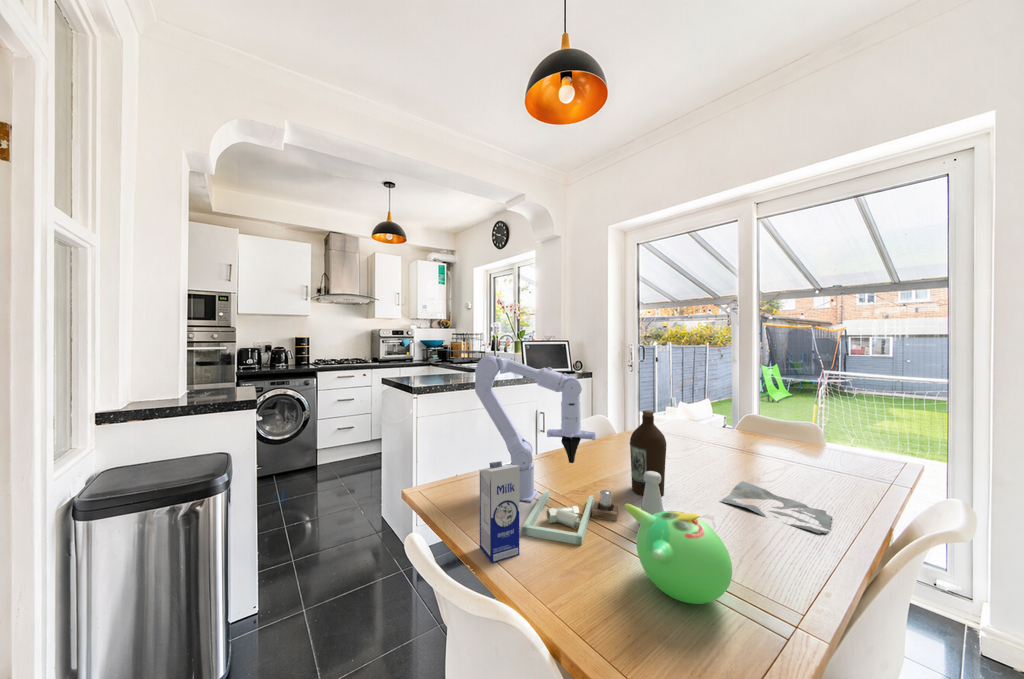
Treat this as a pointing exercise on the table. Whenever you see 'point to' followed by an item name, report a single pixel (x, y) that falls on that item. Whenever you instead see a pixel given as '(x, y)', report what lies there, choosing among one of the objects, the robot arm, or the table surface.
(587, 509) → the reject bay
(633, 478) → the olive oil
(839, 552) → the table surface
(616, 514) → the tan square frame
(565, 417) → the robot arm
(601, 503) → the pin
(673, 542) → the toy bird
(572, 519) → the pipe fitting
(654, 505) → the salt shaker
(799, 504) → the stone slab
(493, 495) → the milk carton
